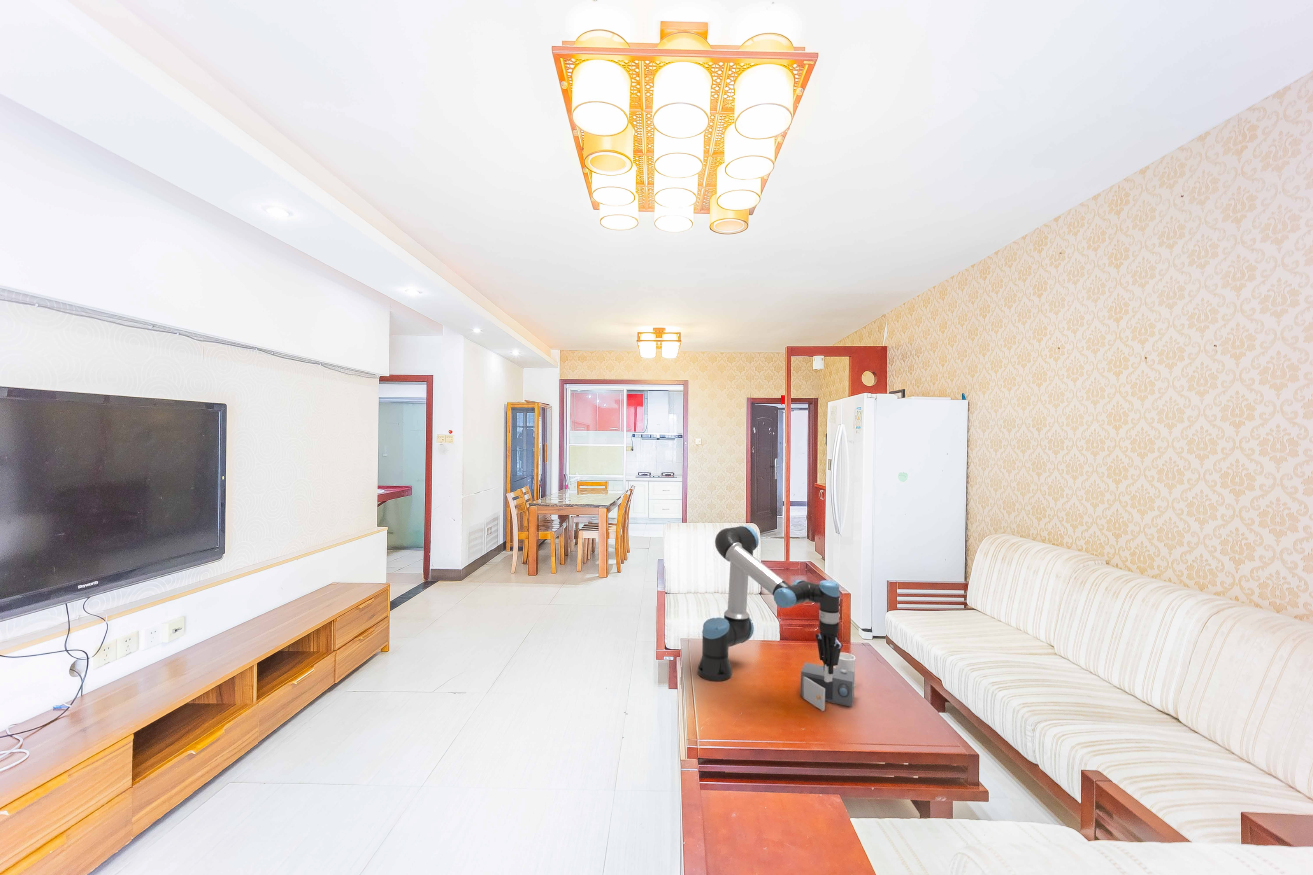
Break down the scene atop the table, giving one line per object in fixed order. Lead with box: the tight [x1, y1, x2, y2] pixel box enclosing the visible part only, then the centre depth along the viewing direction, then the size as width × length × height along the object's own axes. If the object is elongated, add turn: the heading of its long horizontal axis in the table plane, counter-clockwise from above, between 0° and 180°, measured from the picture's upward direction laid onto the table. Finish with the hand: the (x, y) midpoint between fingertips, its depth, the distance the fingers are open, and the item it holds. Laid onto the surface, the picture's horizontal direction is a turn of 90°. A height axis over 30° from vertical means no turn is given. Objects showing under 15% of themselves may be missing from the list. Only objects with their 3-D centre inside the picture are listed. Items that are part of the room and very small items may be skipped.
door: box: [801, 676, 826, 712], centre depth 214 cm, size 12×2×8 cm, turn 25°
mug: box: [835, 652, 856, 688], centre depth 234 cm, size 12×8×12 cm
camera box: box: [799, 662, 856, 708], centre depth 221 cm, size 20×12×11 cm, turn 65°
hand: (828, 680), depth 212 cm, fingers closed
